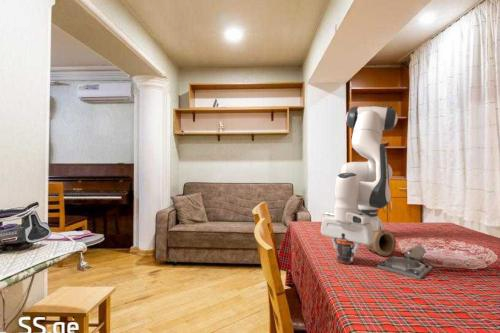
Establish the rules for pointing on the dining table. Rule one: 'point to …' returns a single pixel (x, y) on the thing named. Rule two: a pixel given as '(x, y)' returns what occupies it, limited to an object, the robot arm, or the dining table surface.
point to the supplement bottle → (344, 250)
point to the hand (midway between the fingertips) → (345, 251)
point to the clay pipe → (382, 242)
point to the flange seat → (407, 263)
